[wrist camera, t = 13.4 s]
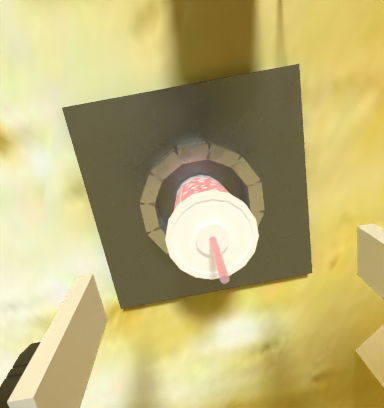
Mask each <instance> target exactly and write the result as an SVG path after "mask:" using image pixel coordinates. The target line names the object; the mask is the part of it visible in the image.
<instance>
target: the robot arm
mask: <svg viewBox="0 0 384 408" xmlns="http://www.w3.org/2000/svg"><path fill="white" fill-rule="evenodd" d="M357 275H358V276H359V277H360V278H361V279H362V280H363V281H365V282H366V283H367V284H368V285H369V286H370V287H371V288H372V289H373V290H374V291H375V292H376V293H377V294H378V295H379V296H380V297H381V298H382V299H384V230H383V229H381V228H380V227H378V226H376V225H375V224H373V223H372V224H366V225H361V226H357ZM106 323H107V317H106V314H105V310H104V307H103V304H102V301H101V298H100V295H99V292H98V289H97V285H96V282H95V279H94V276H93V274H91V275H85V276H79V277H77V279H76V280H75V282H74V284H73V286H72V288H71V289H70V291H69V293H68V295H67V296H66V298H65V300H64V302H63V304H62V305H61V307H60V309H59V311H58V312H57V314H56V316H55V318H54V319H53V321H52V323H51V325H50V327H49V328H48V330H47V332H46V334H45V335H44V337H43V339H42V341H41V342H38V343H33V344H31V345H30V346H29V347H28V348H26V349H25V350H24V351H23V352H22V353H21V354H20V356H19V357H18V359H17V360H16V362H15V364H14V365H13V369H11V370H10V372H9V373H8V375H7V379H5V380H4V381H3V383H2V385H1V386H0V408H80V406H81V402H82V399H83V396H84V393H85V390H86V387H87V383H88V380H89V377H90V374H91V371H92V367H93V364H94V361H95V358H96V355H97V352H98V348H99V345H100V342H101V339H102V336H103V333H104V329H105V326H106Z"/></svg>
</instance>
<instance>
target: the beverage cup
mask: <svg viewBox="0 0 384 408" xmlns="http://www.w3.org/2000/svg"><path fill="white" fill-rule="evenodd" d="M258 238H259V233H258V228H257V222H256V219H255V217H254V216H253V214H252V213H251V211H250V210H249V208H248V207H247V205H246V204H245V203H244V202H243V201H241V200H240V199H238V198H236V197H235V196H233V195H231V194H230V193H229V192H228V191H227V190H226V189H225V188H224V187H223V186H222V185H221V184H220V183H219V182H218V181H217V180H215V179H214V178H212V177H210V176H205V175H197V176H193V177H190V178H188V179H187V180H186V181H184V182H183V183H182V184H181V186H180V188H179V189H178V191H177V196H176V201H175V207H174V212H173V213H172V215H171V216H170V218H169V220H168V225H167V232H166V238H165V241H166V245H167V249H168V252H169V256H170V258H171V259H172V260H173V261H174V262H175V264H176V265H177V266H178V267H179V268H180V270H182V271H184V272H186V273H188V274H190V275H192V276H194V277H195V278H204V279H212V280H213V279H217V278H220V281H221V283H223V284H226V283H228V282H229V280H230V279H229V276H230V275H232V274H233V273H235V272H236V271H238V270H239V269H241V268H242V267H244V266H245V265H246V264H247V262H248V261H249V259H250V258H251V257H252V255H253V254H254V253H255V250H256V246H257V242H258Z"/></svg>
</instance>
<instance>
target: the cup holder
mask: <svg viewBox="0 0 384 408" xmlns="http://www.w3.org/2000/svg"><path fill="white" fill-rule="evenodd" d="M62 109H63V113H64V116H65V119H66V123H67V126H68V130H69V133H70V136H71V140H72V143H73V147H74V150H75V154H76V157H77V160H78V164H79V167H80V171H81V174H82V177H83V181H84V184H85V188H86V191H87V194H88V198H89V201H90V205H91V208H92V212H93V215H94V218H95V222H96V225H97V229H98V232H99V235H100V239H101V242H102V246H103V249H104V252H105V256H106V259H107V263H108V266H109V269H110V273H111V276H112V280H113V283H114V287H115V290H116V293H117V297H118V300H119V304H120V307H121V309H122V308H127V307H133V306H138V305H143V304H149V303H154V302H159V301H165V300H170V299H175V298H181V297H186V296H191V295H197V294H202V293H207V292H213V291H218V290H224V289H229V288H234V287H240V286H245V285H250V284H256V283H261V282H266V281H272V280H277V279H282V278H288V277H293V276H298V275H304V274H309V273H312V263H311V247H310V231H309V215H308V199H307V183H306V167H305V151H304V134H303V118H302V102H301V86H300V70H299V64H296V65H291V66H285V67H280V68H275V69H269V70H264V71H258V72H253V73H248V74H242V75H237V76H231V77H226V78H221V79H215V80H210V81H204V82H199V83H194V84H188V85H183V86H177V87H172V88H167V89H161V90H156V91H150V92H145V93H139V94H134V95H129V96H123V97H118V98H112V99H107V100H102V101H96V102H91V103H85V104H80V105H75V106H69V107H64V108H62ZM197 175H205V176H210V177H212V178H214V179H215V180H217V181H218V182H219V183H220V184H221V185H222V186H223V187H224V188H225V189H226V190H227V191H228V192H229V193H230V194H231V195H233V196H235V197H236V198H238V199H240V200H241V201H243V202H244V203H245V204H246V205H247V207H248V208H249V210H250V211H251V213H252V214H253V216H254V217H255V219H256V222H257V228H258V233H259V238H258V242H257V246H256V250H255V253H254V254H253V255H252V257H251V258H250V259H249V261H248V262H247V264H246V265H245V266H244V267H242V268H241V269H239V270H238V271H236V272H235V273H233V274H232V275H230V276H229V279H230V280H229V282H228V283H226V284H223V283H221V281H220V278H217V279H213V280H212V279H204V278H195V277H194V276H192V275H190V274H188V273H186V272H184V271H182V270H180V268H179V267H178V266H177V265H176V264H175V262H174V261H173V260H172V259H171V258H170V256H169V252H168V249H167V245H166V241H165V238H166V232H167V225H168V220H169V218H170V216H171V215H172V213H173V212H174V207H175V201H176V196H177V191H178V189H179V188H180V186H181V184H182V183H183V182H184V181H186V180H187V179H188V178H190V177H193V176H197Z"/></svg>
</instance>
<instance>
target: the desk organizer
mask: <svg viewBox="0 0 384 408" xmlns="http://www.w3.org/2000/svg"><path fill="white" fill-rule="evenodd" d="M355 351H356V352H357V353H358V355H359V356H360V357H361V359H362V360H363V361H364V363H365V364H366V365H367V367H368V368H369V369H370V371H371V372H372V373H373V375H374V376H375V377H376V379H377V380H378V381H379V383H380V384H381V385H382V387H383V388H384V324H383V325H382V326H381V327H380V328H379V329H378V330H377V331H376V332H375V333H374V334H373V335H372V336H370V337H369V338H368V339H367V340H366V341H365V342H364V343H363V344H362V345H361V346H360V347H358V348H357V349H356V350H355Z"/></svg>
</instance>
